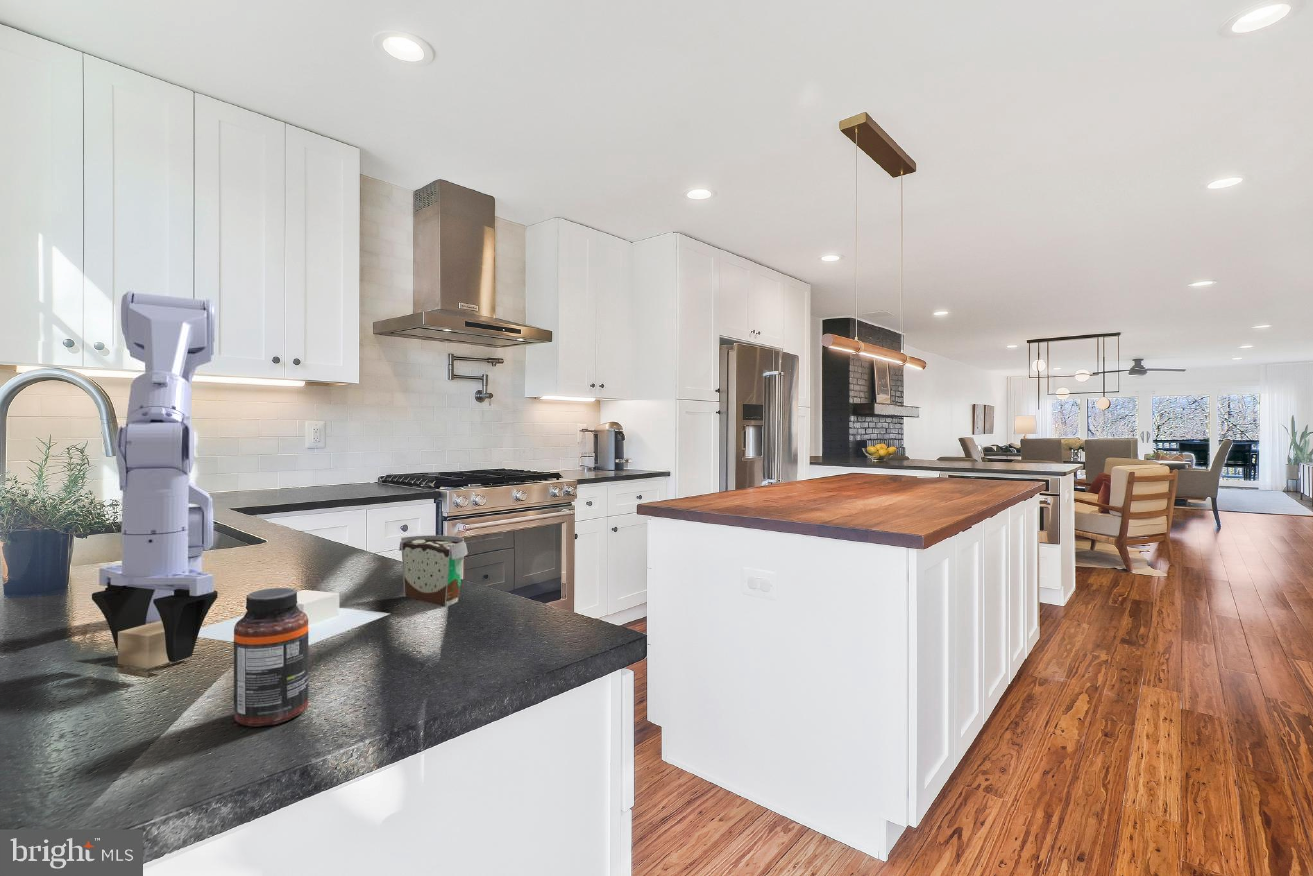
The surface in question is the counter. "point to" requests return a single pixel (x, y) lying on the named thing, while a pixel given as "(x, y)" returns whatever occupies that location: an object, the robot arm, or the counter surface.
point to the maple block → (142, 648)
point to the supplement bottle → (270, 659)
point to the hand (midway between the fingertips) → (154, 655)
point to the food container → (432, 567)
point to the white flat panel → (315, 632)
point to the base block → (318, 605)
